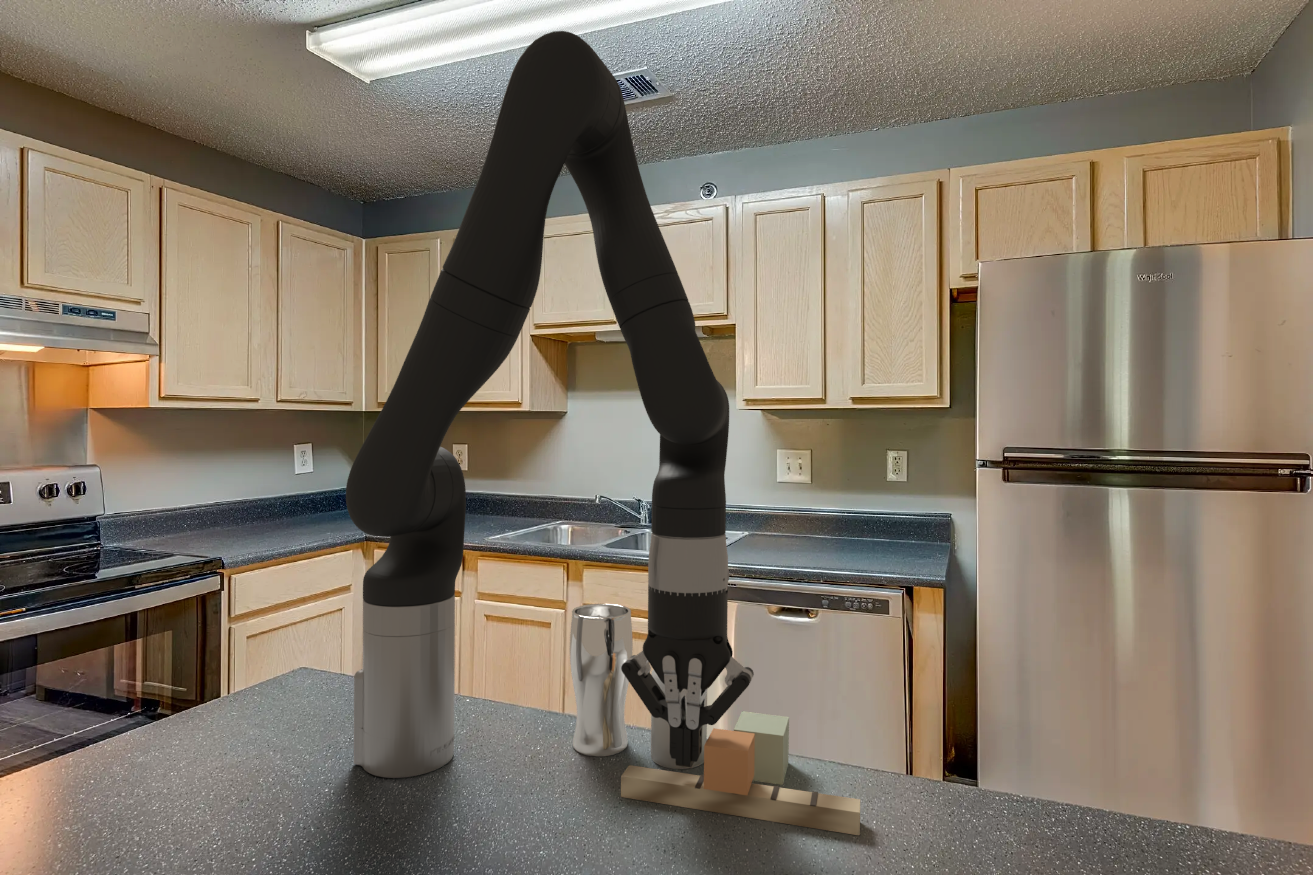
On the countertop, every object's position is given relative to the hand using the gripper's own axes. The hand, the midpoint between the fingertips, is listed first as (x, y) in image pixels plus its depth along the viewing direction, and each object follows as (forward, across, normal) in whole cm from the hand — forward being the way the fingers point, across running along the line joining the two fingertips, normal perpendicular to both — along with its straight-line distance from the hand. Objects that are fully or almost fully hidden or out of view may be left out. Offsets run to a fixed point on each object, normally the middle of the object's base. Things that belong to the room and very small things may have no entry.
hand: (686, 762), depth 70 cm
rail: (+4, +5, 0) cm, 6 cm away
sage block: (+4, +6, +8) cm, 11 cm away
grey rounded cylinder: (+4, -3, +9) cm, 10 cm away
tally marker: (+1, +4, 0) cm, 4 cm away
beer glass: (+4, -12, +9) cm, 16 cm away
